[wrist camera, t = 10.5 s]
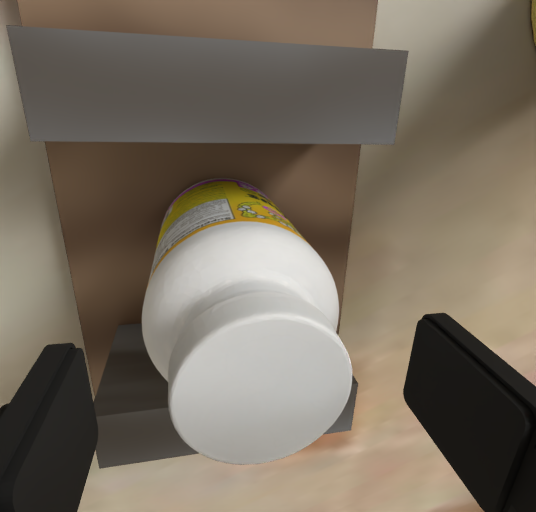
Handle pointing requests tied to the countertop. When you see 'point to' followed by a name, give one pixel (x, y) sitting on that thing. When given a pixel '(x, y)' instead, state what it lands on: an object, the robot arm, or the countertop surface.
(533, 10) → the decorative book
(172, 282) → the supplement bottle
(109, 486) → the countertop surface
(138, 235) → the stand
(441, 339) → the robot arm
